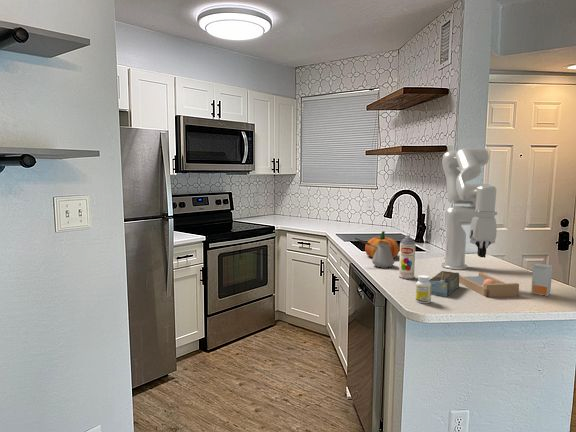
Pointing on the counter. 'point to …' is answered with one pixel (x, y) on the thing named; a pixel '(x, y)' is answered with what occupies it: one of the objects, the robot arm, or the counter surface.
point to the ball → (488, 282)
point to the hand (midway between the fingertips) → (481, 256)
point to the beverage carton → (444, 283)
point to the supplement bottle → (423, 289)
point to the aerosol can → (407, 258)
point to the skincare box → (541, 279)
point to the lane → (490, 286)
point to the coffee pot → (381, 254)
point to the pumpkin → (371, 250)
